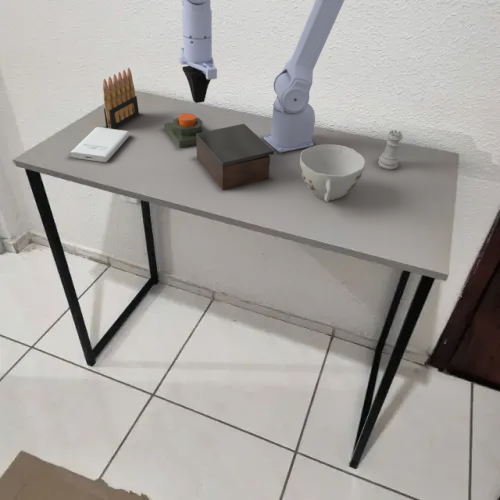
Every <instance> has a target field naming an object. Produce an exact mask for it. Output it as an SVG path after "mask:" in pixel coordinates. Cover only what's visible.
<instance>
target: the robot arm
mask: <svg viewBox="0 0 500 500" xmlns="http://www.w3.org/2000/svg"><path fill="white" fill-rule="evenodd" d="M344 2H345V0H314V2H313V5H312V8H311V11H310V13H309V15H308V18H307V20H306V21H305V24H304V28H303V30H302V32H301V35H300V37H299V39H298V42H297V44H296V47H295V49H294V52H293V54H292V56H291V58H290V59H289V60H288V61H286V62H285V63H284V66H283V69H282V70H281V72H279V73H278V74H277V75H276V76H275V77H274V80H273V84H272V85H273V91H274V92H275V94H276V95H277V96H276V98H275V99H274V102H273V106H272V117H271V118H272V119H271V130H270V132H271V133H270V135H265V136H263V140H264V141H266V143H267V144H269V146H270V147H272V148H273V149H275V150H276V151H277V152H278V153H280V154H281V153H285V152H290V151H295V150H300V149H304V148H305V149H306V148H309V147H314V146H315V145H314V143H313V136H314V130H315V124H316V123H315V122H316V113H315V110H314V108H313V107H312V105H311V104H309V102H310V91H311V88H312V85H313V79H314V78H313V77H314V76H313V75H314V69H315V67H316V65H317V63H318V60H319V58H320V56H321V54H322V52H323V49H324V48H325V44H326V43H327V40H328V38H329V35H330V33H331V32H332V29H333V27H334V25H335V23H336V20H337V18H338V15H339V14H340V11H341V9H342V6H343V4H344ZM181 4H182V8H181V22H182V23H181V24H182V47H180V57H179V58H178V59H177V60H178V63H179V64H180V65H182V69H181V70H182V72H183V73H184V75H185V77H186V79H187V82H188V86H189V89H190V94H191V97H192V100H193V102H194V103H195V104H198V103H204V102H205V100H206V96H207V92H208V89H209V88H208V87H209V85H210V83H211V81H212V80H216V79H218V68H216V66H215V63H214V57H213V30H212V29H213V22H212V21H213V20H212V19H213V18H212V17H213V16H212V15H213V12H212V11H213V10H212V8H211V0H181ZM183 65H186V66H183Z"/></svg>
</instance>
